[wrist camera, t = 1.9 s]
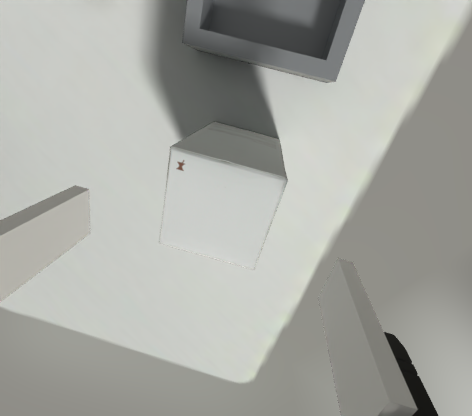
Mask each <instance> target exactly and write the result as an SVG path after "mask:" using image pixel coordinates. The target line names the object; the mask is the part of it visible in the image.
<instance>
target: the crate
mask: <svg viewBox="0 0 472 416" xmlns="http://www.w3.org/2000/svg"><path fill="white" fill-rule="evenodd" d="M364 1H365V0H187V7H186V16H185V24H184V33H183V41H182V43H184V44H186V45H188V46H190V47H192V48H194V49H196V50H199V51H203V52H207V53H211V54H215V55H219V56H223V57H227V58H231V59H235V60H239V61H243V62H247V63H250V64H254V65H258V66H262V67H266V68H270V69H274V70H278V71H282V72H286V73H290V74H294V75H298V76H302V77H306V78H310V79H314V80H318V81H321V82H325V83H328V82H336V79H337V76H338V74H339V71H340V68H341V65H342V63H343V60H344V57H345V54H346V51H347V49H348V46H349V43H350V40H351V37H352V35H353V32H354V29H355V26H356V23H357V21H358V18H359V15H360V12H361V9H362V7H363V4H364Z"/></svg>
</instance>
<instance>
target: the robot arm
mask: <svg viewBox="0 0 472 416" xmlns="http://www.w3.org/2000/svg"><path fill="white" fill-rule="evenodd" d="M89 234H90V203H89V189H86V188H83V187H79V186H76V185H75V186H73V187H71V188H69V189H66V190H64V191H62V192H60V193H58V194H56V195H54V196H52V197H49V198H47V199H45V200H43V201H41V202H39V203H37V204H35V205H32V206H30V207H28V208H26V209H24V210H22V211H20V212H17V213H15V214H13V215H11V216H9V217H7V218H5V219H3V220H0V302H2V301H3V300H4V299H5V298H7V297H8V296H9V295H11V294H12V293H13V292H15V291H16V290H17V289H19V288H20V287H21V286H22V285H24V284H25V283H26V282H28V281H29V280H30V279H32V278H33V277H34V276H36V275H37V274H38V273H39V272H41V271H42V270H43V269H45V268H46V267H47V266H49V265H50V264H51V263H53V262H54V261H55V260H56V259H58V258H59V257H60V256H62V255H63V254H64V253H66V252H67V251H68V250H70V249H71V248H72V247H73V246H75V245H76V244H77V243H79V242H80V241H81V240H83V239H84V238H85V237H87V236H88V235H89ZM318 301H319V306H320V310H321V316H322V321H323V326H324V331H325V336H326V341H327V347H328V352H329V357H330V362H331V367H332V372H333V377H334V383H335V388H336V392H337V397H338V403H339V408H340V413H341V416H438V414H437V412H436V410H435V408H434V406H433V404H432V402H431V400H430V398H429V396H428V394H427V392H426V390H425V388H424V386H423V383H422V382H421V379H420V378H419V376H417V371H416V369H415V367H414V365H412V361H411V359H410V357H409V355H408V353H407V351H406V349H405V348H404V346H403V345H402V344H401V343H400V342H399V340H398V339H397V338H396V337H395V336H394V335H392V334H389V333H386V332H383V330H382V327H381V325H380V323H379V320H378V318H377V316H376V313H375V311H374V310H373V307H372V304H371V302H370V300H369V298H368V295H367V293H366V291H365V289H364V286H363V284H362V282H361V279H360V277H359V275H358V273H357V270H356V268H355V266H354V264H353V262H351V261H347V260H344V259H340V258H338V259H337V261H336V263H335V265H334V267H333V269H332V271H331V273H330V275H329V277H328V279H327V281H326V283H325V285H324V287H323V289H322V291H321V293H320V295H319V297H318Z"/></svg>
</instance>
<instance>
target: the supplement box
mask: <svg viewBox="0 0 472 416" xmlns="http://www.w3.org/2000/svg"><path fill="white" fill-rule="evenodd" d="M287 181H288V179H287V176H286V172H285V167H284V161H283V155H282V149H281V144H280V140H279V139H276V138H273V137H269V136H266V135H262V134H259V133H255V132H252V131H248V130H244V129H240V128H237V127H233V126H229V125H225V124H222V123H218V122H213V123H211V124H209V125H207V126H206V127H204V128H202V129H200V130H198V131H197V132H195V133H193V134H192V135H190V136H188V137H186V138H185V139H183V140H181V141H179V142H178V143H176V144H174V145H172V146H171V147H170V156H169V165H168V174H167V183H166V192H165V201H164V208H163V216H162V224H161V231H160V240H159V243H160V244H162V245H166V246H169V247H173V248H177V249H180V250H184V251H188V252H191V253H195V254H198V255H202V256H206V257H209V258H213V259H216V260H220V261H223V262H227V263H230V264H234V265H237V266H241V267H245V268H248V269H251V270H254V269H255V266H256V263H257V261H258V258H259V255H260V253H261V250H262V247H263V244H264V242H265V239H266V237H267V234H268V231H269V229H270V226H271V224H272V221H273V218H274V216H275V213H276V211H277V208H278V205H279V203H280V200H281V197H282V195H283V192H284V189H285V187H286V184H287Z"/></svg>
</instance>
